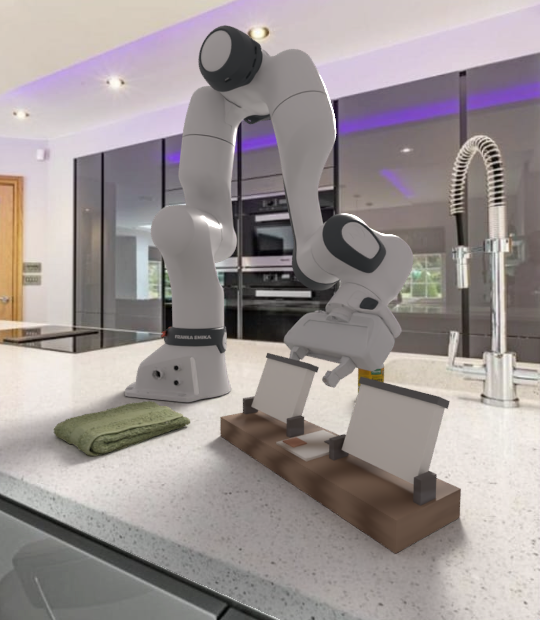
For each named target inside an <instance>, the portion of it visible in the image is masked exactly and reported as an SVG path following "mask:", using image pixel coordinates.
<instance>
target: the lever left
mask: <svg viewBox="0 0 540 620" xmlns="http://www.w3.org/2000/svg"><path fill="white" fill-rule="evenodd" d="M265 358H266V361H265V364H264V367H263V369H262V373H261V377H260V380H259V383H258V384H257V389H256V390H255V391H256V392H255V394H254V396H255V397H254V400H253V403H252V406H251V407H253V408H255V409H257V410H259V411H261V412H264V413H266V414H268V415H270V416H272V417H274V418H276V419H278V420H280V421H282V422H284V423H286V424H287V418H291V417H296V416H300V415H301V416H303V413H304V410H305V406H306V404H307V400H308V397H309V393H310V390H311V388H312V385H313V381H314V378H315V376H316V375H315V374H316V373H318V372H319V366H317V365H314V364H311V363H309V362H305V361H301V360H300V361H298V360H294V359H290V358H289V357H285V356H282V355H278V354H273V353H271V352H267V353H266V355H265Z"/></svg>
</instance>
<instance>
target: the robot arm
mask: <svg viewBox="0 0 540 620" xmlns="http://www.w3.org/2000/svg"><path fill="white" fill-rule="evenodd" d="M197 62H198V68H199V71H200V74H201V76H202V77H203V79H204V81H206V83H207V84H208V85H205V86H201V87H198V88H197V89H195V90H194V92H193V93H192V94H191V97H190V99H189V103H188V107H187V111H186V114H185V119H184V122H183V123H184V124H183V129H182V137H181V146H180V154H179V155H180V156H179V164H178V165H179V166H178V180H179V183H180V185H181V189H182V190H183V195H184V196H183V197H184V199H185V200H184V201H185V204H175V205H174V204H173V205H172V204H171V205H167V206H164V207H162V208H161V209H160V210H158V212H156V214H155V215H154V217H153V219H152V220H151V221H152V222H151V225H150V236H151V240H152V242H153V245H154V247H156V248H157V250H158V251H159V253H160V254H161V257H162V259H163V262H164V265H165V269H166V272H167V275H168V279H169V284H170V289H171V290H170V292H171V307H172V308H171V311H172V313H171V314H172V315H171V316H172V325H171V326H169V327H168V328H167V329H165V330H164V331H162V332H161V338H163V342H164V343H163V344H162V345H161V346H160V347H158V348H157V349H156V350H155V351H153V352H152V353H151V354H150V355H148V356H147V357H146V358H144V360H143V361H142V360H141V362H140V364H139V365H138V368H137V370H136V377H135V381H134V382H132V383H131V384H129V385H127V386H126V388H125V389H124V395H125V397H129V398H140V399H151V400H160V401H167V402H169V401H170V402H177V403H178V402H179V403H191V402H195V401H199V400H203V399H210V398H216V397H219V396H223V395H226V394H228V393H230V392H231V390H232V386H231V383H230V379H229V374H228V369H227V368H228V367H227V361H226V351H227V342H228V341H227V339H228V338H227V327H226V326H225V290H224V288H223V286H222V285H221V282H220V280H219V277H218V272H217V268H216V264H217V263H220V262H223V261H226V260H227V259H229V258H230V257H232V255H234V252H235V250H236V247H237V243H238V238H237V233H236V231H235V228H234V219H233V218H234V217H233V204H232V203H233V202H232V180H233V179H232V177H233V168H234V159H235V152H236V151H235V149H236V140H237V134H238V128H239V126H240V124H241V122H242V121H244V122H245V123H246V124H248V125H254V124H257V123H259V122H264V121H270V120H271V125H272V128H273V131H274V136H275V139H276V140H275V141H276V145H277V148H278V154H279V161H280V167H281V168H280V169H281V174H282V181H283V182H282V183H283V190H284V196H285V200H286V201H285V202H286V206H287V213H288V216H289V223H290V229H291V233H292V238H293V246H292V247H293V249H292V256H291V268H292V271H293V274H294V276H295V277H296V278H297V280H298V281H299V282H300V283H301V284H302V285H303V286H305V287H306V288H309V289H310V290H314V291H325V290H329V289H330V288H332V287H333V286H335V285H336V284H337V283H338V282H339V281H340V283H341V285H340V286H339V287H338V289H337V290H336V292H334V294H333V296H331V298H330V299H329V300H328V302H327V304H326V305H325V310H322V309H317V310H314V311H313V312H307V313H306V314H303V316H301V317H300V318H299V320H297V322H296V323H295V324H294V325H293V326H292V327H291V328H290V329H289V330H288V331H287V333H286V334H285V335H284V338H283V343H284V344H285V346H286V347H287V348H288V349H289V350H290V353H289V357H288V358H290V359H294V360H298V361H301V360H304V358H305V357H309V358H312V359H313V358H314V359H318V360H323V361H327V362H330V363H335V364H338V365H337V366H336V367H334V368H333V369H332V370H327V371H326V372H325V375H323V377H322V379H321V380H322V383H324V385H325V386H327V387H330V388H333V389H334V388H336V387H337V385H338V384H339V382H340V381H341V380H342V379H344V378H346V377H347V376H349V375H351V374H352V373H353V372H354V371H355V369H358V368H360V369H364V370H368V371H374V370H376V369H378V368H380V367H381V366H382V365H383V364H384V363H385V362H386V360H387V358H388V357H389V355H390V354H391V352H392V350H393V348H394V346H395V341H396V340H395V339H397V338H399V336H400V335H401V333H402V331H403V329H402V327H401V324H400V323H399V321H398V320H397V318H396V317H395V315H394V314H393V312H392V310H391V309H390V308H389V304H390V303H391V302H392V301H393V300H395V299H396V297H398V295H399V294H400V292H401V290H403V287H404V286H405V283H406V282H407V280H408V278H409V276H410V274H411V272H412V269H413V265H414V254H413V251H412V249H411V247H410V245H409V244H408V243H407V242H406V241H405V240H404V239H402V238H401V237H400V236H398V235H394V234H390V233H389V234H385V233H381V232H379V231H377V230H375V229H372V228H371V227H369V225H368V224H367V223H366V222H365V221H364V220H362V219H361V218H359V217H358V216H356V215H354V214H349V213H345V212H343V213H338V214H337V213H336V214H335V215H332V216H330V218H328V219H327V220H326V221H325V222H323V217H322V211H321V206H320V200H319V184H320V181H321V177H322V173H323V171H324V168H325V166H326V164H327V160H328V159H329V156H330V154H331V152H332V150H333V147H334V145H335V143H336V142H335V141H336V136H337V135H336V134H337V128H336V118H335V117H336V116H335V113H334V109H333V106H332V103H331V99H330V96H329V93H328V90H327V88H326V85H325V83H324V80H323V78H322V76H321V74H320V72H319V70H318V68H317V66H316V63H315V62H314V61H313V59H312V57H311V56H310V55H309V54H308V53H306V51H303V50H301V49H298V48H289V49H284V50H282V51H280V52H279V53H277V54H276V55H272V56H271V55H270V54H269V53H268V51H266V50H265V49H263V48H262V46H261V44H260V43H259V42H257V41H256V40H255V39H254V38H252V37H251V36H250V35H248V34H247V33H246V32H243V30H240V29H238V28H236V27H234V26H230V25H226V24H225V25H220V26H218V27H216V28H213V30H211V31H210V32H209V33H208V34H207V36H206V37H205V38H204V40H203V42H202V44H201V46H200V50H199V53H198V61H197Z"/></svg>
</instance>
